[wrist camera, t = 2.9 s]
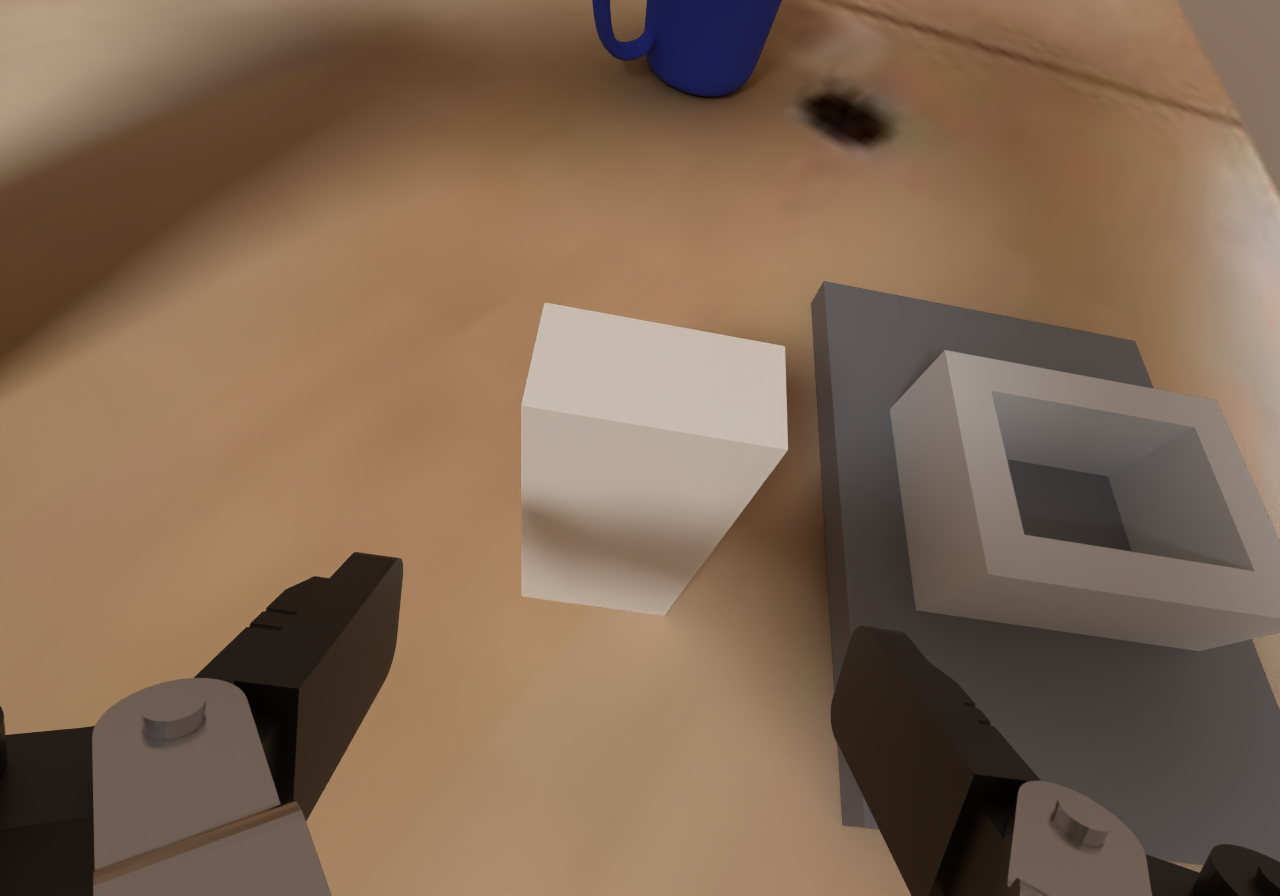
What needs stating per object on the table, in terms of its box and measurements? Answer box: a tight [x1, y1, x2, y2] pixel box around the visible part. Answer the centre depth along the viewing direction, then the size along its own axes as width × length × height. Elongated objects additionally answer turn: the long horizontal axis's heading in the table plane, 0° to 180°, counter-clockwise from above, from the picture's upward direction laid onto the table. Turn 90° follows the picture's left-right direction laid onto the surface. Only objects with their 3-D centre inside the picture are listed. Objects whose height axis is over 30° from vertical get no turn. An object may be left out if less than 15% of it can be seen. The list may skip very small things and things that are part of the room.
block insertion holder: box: [811, 281, 1280, 865], centre depth 24 cm, size 22×16×6 cm
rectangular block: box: [521, 303, 788, 616], centre depth 17 cm, size 2×5×12 cm, turn 84°
